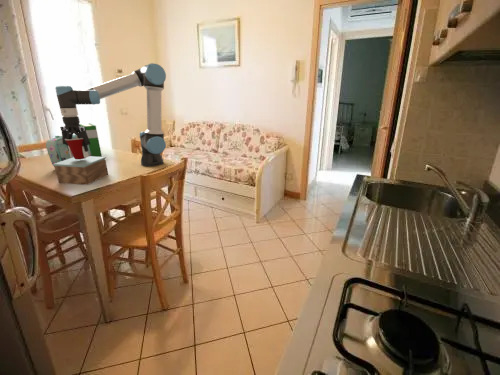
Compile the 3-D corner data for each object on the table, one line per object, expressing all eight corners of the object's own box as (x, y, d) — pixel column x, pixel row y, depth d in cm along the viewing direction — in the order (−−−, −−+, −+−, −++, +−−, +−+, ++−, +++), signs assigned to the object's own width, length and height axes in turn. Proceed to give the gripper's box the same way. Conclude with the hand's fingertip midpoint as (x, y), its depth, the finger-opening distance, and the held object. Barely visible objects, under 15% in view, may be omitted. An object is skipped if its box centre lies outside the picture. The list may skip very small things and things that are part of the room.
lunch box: (63, 171, 167) (54, 138, 160) (50, 170, 169) (41, 137, 162) (94, 160, 192) (88, 131, 184) (82, 160, 194) (75, 131, 186)
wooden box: (108, 174, 161) (105, 159, 157) (87, 184, 144) (83, 167, 140) (82, 173, 163) (78, 158, 160) (58, 182, 146) (54, 165, 143)
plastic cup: (87, 155, 156) (82, 135, 152) (94, 158, 150) (90, 137, 146) (66, 158, 148) (61, 137, 144) (73, 161, 142) (68, 139, 138)
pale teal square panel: (106, 158, 157) (105, 156, 157) (83, 167, 140) (83, 165, 140) (78, 157, 160) (78, 155, 159) (53, 165, 143) (52, 164, 142)
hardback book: (85, 153, 212) (79, 124, 204) (95, 152, 217) (89, 123, 208) (91, 157, 200) (84, 126, 191) (101, 156, 205) (95, 125, 196)
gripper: (47, 116, 139) (58, 157, 147) (82, 117, 136) (91, 159, 144) (59, 115, 146) (68, 154, 154) (92, 115, 143) (100, 156, 151)
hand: (79, 156), depth 149 cm, fingers closed on plastic cup, 8 cm apart
